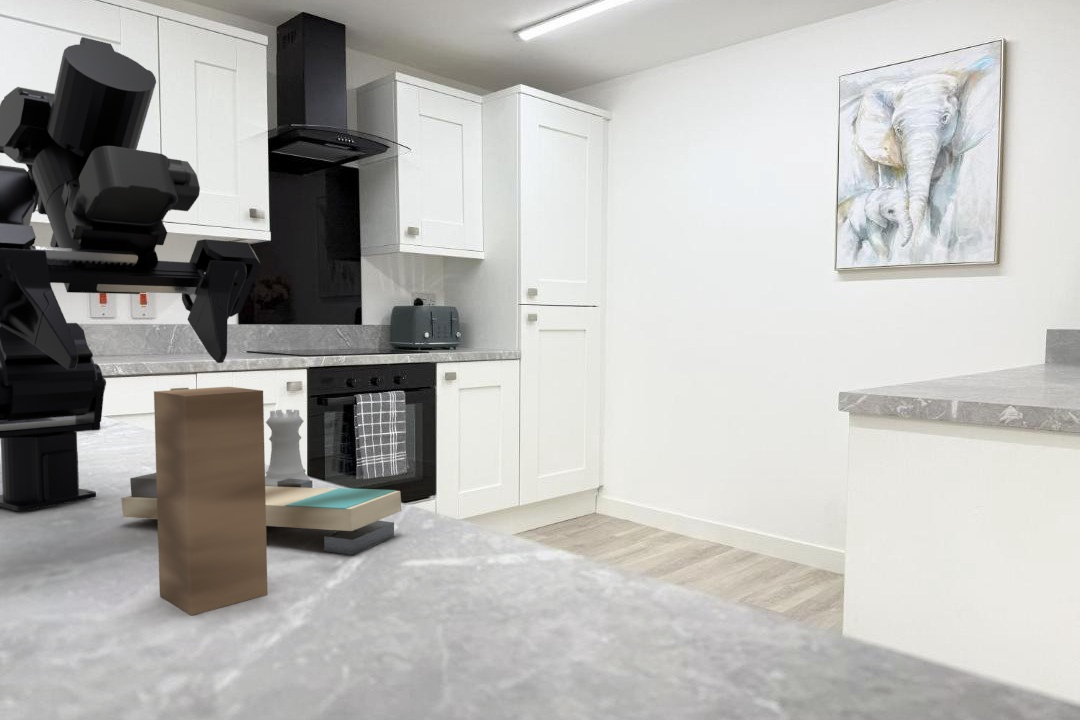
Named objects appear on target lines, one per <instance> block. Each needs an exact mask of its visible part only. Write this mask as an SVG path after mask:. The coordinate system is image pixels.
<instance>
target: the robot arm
mask: <svg viewBox="0 0 1080 720" xmlns="http://www.w3.org/2000/svg"><path fill="white" fill-rule="evenodd" d="M113 47H114V46H113V45H112V44H111V43H108V42H105V41H101V40H97V39H92V38H88V37H83V36H82V37H81V38H80V41H79V44H73V45H68V46H67V47H65V48H64V50H63V53H62V57H61V61H60V66H59V70H58V71H59V72H58V75H57V80H56V83H55V84H56V85H55V89H54V93H52V92H47V91H43V90H37V89H31V88H26V87H20V86H17V87H15V88H13V89H12V90H11V91H10V92H9V93H7V94H6V95H5V96H4V97H3V99H2V100H1V102H0V154H4V155H6V157H8V158H10V159H11V160H12V161H13V162H15V163H17V164H23V165H25V166H26V167H27V169H28V170H27V169H25V168H23V167H19V166H11V165H10V166H8V165H2V164H0V422H2V421H5V422H13V421H14V422H16V421H17V422H18V421H27V420H40V419H52V418H53V419H54V418H64V417H65V418H66V417H75V418H74V419H73V418H72V419H61V420H51V421H50V420H49V421H41V422H40V421H39V422H27V423H24V422H23V423H16V424H12V423H11V424H4V425H0V454H1V455H0V456H1V457H0V458H1V459H0V460H1V461H0V463H1V483H2V494H0V508H5V509H8V510H12V511H16V512H24V511H31V510H36V509H42V508H47V507H51V506H55V505H62V504H66V503H67V504H68V503H71V502H77V501H82V500H83V501H84V500H86V499H93V498H96V497H97V491H95V490H90V489H85V488H81V487H80V484H79V483H80V480H79V479H80V478H79V452H78V432H79V431H80V432H81V431H99V430H100V428H101V422H102V415H103V407H104V405H103V404H104V394H105V391H106V386H107V381H106V378H104V377H103V373H102V370H101V366H100V365H99V364H97V363H95V362H94V359H93V357H94V355H93V352H92V351H91V349H90V347H89V345H88V342H87V339H86V334H85V331H84V329H83V328H82V327H81V325H79V323H77V322H67V320H66V318H65V316H64V314H63V311H62V309H61V307H60V305H59V304H60V303H59V302H58V300H57V297H56V295H55V292H54V290H53V288H52V285H51V284H63V285H64V287H65V291H66V293H75V294H76V293H77V294H78V293H80V294H116V295H117V294H121V295H123V294H124V295H127V294H128V295H140V294H141V293H146V294H147V293H149V294H150V293H154V294H155V293H156V294H157V293H158V294H181V301H182V304H183V306H184V308H185V310H186V311H189V315H188V316H187V322H188V323H189V325H190V327H191V328H192V329H193V331H194V332H195V334H196V336H197V338H198V339H199V341H200V342H201V344H202V346H203V347H204V348H205V350H206V351H207V353H208V355H209V356H210V357H211V358H212V359H213V360H214V361H215V362H216V363H217V364H223V363H224V362H225V360H226V357H227V354H228V320H229V318H230V317H233V316H235V315H237V314H239V313H241V312H242V310H243V307H244V304H245V302H246V300H247V297H248V295H249V294H250V291H251V288H252V287H253V284H254V282H255V279H256V277H257V274H258V272H259V270H260V268H261V267H262V266H261V262H260V260H259V257H258V256H257V255H256V252H255V250H254V249H253V248H252V246H251V244H250V243H249V242H245V241H234V240H233V241H230V240H217V239H207V238H206V239H199V240H196V243H195V247H193V248H194V249H193V251H192V254H191V257H190V259H189V262H188V261H187V262H186V261H185V262H184V261H168V260H166V261H165V260H159V259H158V255H157V252H156V247H157V246H163V245H164V244H165V241H166V237H167V235H168V230H167V229H166V226H165V224H164V221H163V220H164V218H165V217H166V216H167V214H168V212H170V211H181V212H188V211H189V210H191V208H192V207H193V205H194V203H196V201H197V199H198V198H199V196H200V190H201V187H200V186H201V185H200V183H199V180H198V176H197V173H196V171H195V170H194V168H193V167H192V166H191V164H190V163H189V161H186V160H181V159H176V158H175V159H174V158H169V157H168V156H166V155H165V154H162V153H159V152H154V151H153V152H152V151H146V150H139V149H138V145H139V142H140V139H141V135H142V131H143V128H144V126H145V122H146V118H147V115H148V111H149V107H150V104H151V102H152V97H153V94H154V90H155V87H156V84H157V79H156V76H155V75H154V74H155V73H153V72H152V71H151V70H149V69H146V67H144V66H143V65H142V64H140V63H139V62H137V61H136V60H133V59H132V58H130V57H129V56H127V55H125V54H122V53H120V52H118V51H115V49H114V48H113ZM36 210H37V212H38V214H39V215H46V217H47V218H48V221H49V224H50V228H51V230H52V235H51V239H50V244H49V246H40V245H39V246H38V245H37V246H36V245H34V244H35V243H36V233H35V231H34V228H33V225H30V224H31V221H32V215H33V214H34V213H35V212H36Z"/></svg>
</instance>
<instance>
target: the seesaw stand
mask: <svg viewBox="0 0 1080 720" xmlns="http://www.w3.org/2000/svg"><path fill="white" fill-rule="evenodd" d="M277 487H301V488H314V487H313V480H312V479H310V480H302V479H291V478H289V479H285V480H281V481H277ZM394 537H395V522H394V521H386V520H385V521H384V520H378V521H376V522H373V523H371V524H368V525H366V526H363V527H361V528H358V529H356V530H353V531H343V530H335V532H331V533H329V534H326V535H324V536H323V538H324V539H323V542H324V544H323V545H324V552H327V553H335V554H342V555H349V556H354V555H356V554H359V553H361V552H363V551H365V550H367V549H369V548H372V547H374V546H376V545H378V544H381V543H383V542H386V541H387V540H390V539H392V538H394Z"/></svg>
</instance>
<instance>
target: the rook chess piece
mask: <svg viewBox="0 0 1080 720" xmlns="http://www.w3.org/2000/svg"><path fill="white" fill-rule="evenodd" d="M285 412H286V413H284V412H283V410H282V409H275V410H270V412H269V418H267V420H266V421H265V424H266V425H267V426H268V427H269V429H270V431H271V436H270V437H269V438H268V440H269V441H270V443H271V446H270V447H271V451H270V459H269V465H268V469H267V470H266V471H265V486H272V487H277V481H281V480H285V479H289V478H291V479H302V480H311V478H310V477H309V476H308V475H307V474H306V469H305V468H304V466H303V463H302V457H301V451H300V440H301V439H302V436H301V435H300V433H299V431H300V428H301V426H302V425H303V423H304V420H303V418H302V417H301V416H300V410H299V409H285Z"/></svg>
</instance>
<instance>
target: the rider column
mask: <svg viewBox="0 0 1080 720" xmlns="http://www.w3.org/2000/svg"><path fill="white" fill-rule="evenodd" d="M153 402H154V403H153V404H154V406H153V407H154V438H155V439H154V443H155V473H156V482H157V517H158V519H157V541H158V542H157V544H158V545H157V547H158V549H157V550H158V575H159V576H158V577H159V578H158V579H159V580H158V581H159V583H158V584H159V586H158V587H159V597H160V598H161V599H164V601H167V602H168V603H170V604H171V605H173V606H174V607H177V608H179V609H180V610H182V611H183V612H185V613H187V614H188V615H190V616H191V617H192V616H195V615H199V614H202V613H203V614H204V613H206V612H211V611H212V610H216V609H220V608H224V607H227V606H231V605H235V604H239V603H241V602H245V601H249V600H252V599H256V598H259V597H263V596H266V595H268V563H267V562H268V557H267V556H268V555H267V553H268V552H267V550H268V549H267V526H266V499H265V477H266V469H265V468H266V467H265V466H266V463H265V462H266V461H265V456H266V455H265V417H264V416H265V413H264V411H265V410H264V390H260V389H252V388H243V387H236V386H234V387H233V386H218V387H202V388H201V387H200V388H189V389H188V388H186V389H172V390H171V389H170V390H157V391H155V390H154V391H153Z"/></svg>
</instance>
